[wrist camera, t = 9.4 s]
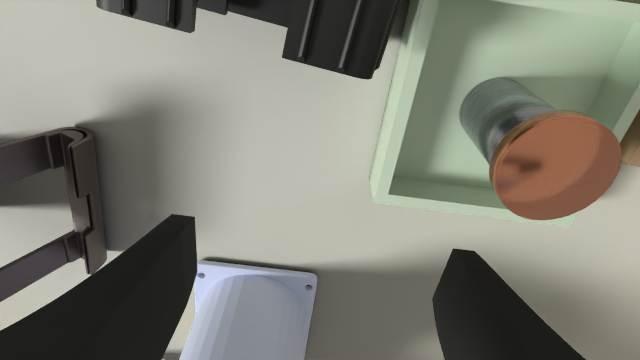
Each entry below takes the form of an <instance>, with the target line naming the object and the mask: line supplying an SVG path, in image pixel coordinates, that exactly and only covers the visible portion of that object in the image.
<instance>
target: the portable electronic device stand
mask: <svg viewBox="0 0 640 360" xmlns="http://www.w3.org/2000/svg"><path fill="white" fill-rule="evenodd" d="M62 166H64V169H65V175H66V181H67V187H68V193H69V199H70V205H71V211H72V217H73V223H74V230H73V231H71V232H69V233H67V234H65V235H63V236H61V237H59V238H57V239H55V240H53V241H52V242H50V243H48V244H46V245H44V246H42V247H40V248H38V249H36V250H34V251H32V252H30V253H28V254H26V255H24V256H22V257H20V258H19V259H17V260H15V261H13V262H11V263H9V264H7V265H5V266H3V267H1V268H0V302H1V301H3V300H5V299H6V298H8V297H10V296H11V295H13V294H15V293H17V292H18V291H20V290H22V289H23V288H25V287H27V286H29V285H30V284H32V283H34V282H35V281H37V280H39V279H41V278H42V277H44V276H46V275H48V274H49V273H51V272H53V271H54V270H56V269H58V268H60V267H61V266H63V265H65V264H66V263H68V262H73V261H75V260H77V259H79V258H83V259H84V260H85V266H86V272H87V274H91V275H93V274H94V273H95V272H96V271H97V270H98V269H99V268H100V267H101V266H102V265H103V264H104V263H105V261H106V260H107V251H106V242H105V234H104V225H103V216H102V207H101V198H100V190H99V181H98V172H97V163H96V154H95V146H94V137H93V133H92V132H91V131H90V130H88V129H85V128H80V127H64V128H59V129H55V130H52V131H48V132H44V133H41V134H37V135H34V136H30V137H26V138H23V139H19V140H15V141H12V142H8V143H5V144H1V145H0V186H2V185H5V184H8V183H11V182H13V181H16V180H19V179H22V178H25V177H27V176H30V175H33V174H36V173H39V172H41V171H44V170H47V169H50V168H52V169H55V168H58V167H62Z"/></svg>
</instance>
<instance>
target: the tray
mask: <svg viewBox="0 0 640 360" xmlns="http://www.w3.org/2000/svg"><path fill="white" fill-rule="evenodd" d="M498 77H504V78H509V79H512V80H515V81H516V82H518V83H519V84H521V85H522V86H524V87H525V88H527V89H528V90H529V91H531V92H532V93H534V94H535V95H537V96H538V97H540V98H541V99H542V100H544V101H545V102H547V103H548V104H550V105H551V106H552V107H554V108H555V109H557V110H570V111H576V112H580V113H583V114H586V115H588V116H590V117H591V118H593V119H594V120H596V121H597V122H599V123H601V124H602V125H604V126H605V127H607V128H608V129H609V130H611V131H612V132H613V133H614V135H615V136H616V138H617V139H618V142H619V143H620V142H621V140H622V138H623V136H624V135H625V133H626V131H627V130H628V128H629V126H630V125H631V123H632V121H633V120H634V118H635V116H636V114H637V113H638V111H639V109H640V4H636V3H629V2H622V1H616V0H410V2H409V7H408V11H407V16H406V20H405V24H404V29H403V33H402V37H401V42H400V46H399V50H398V55H397V59H396V64H395V68H394V72H393V77H392V81H391V85H390V90H389V94H388V99H387V103H386V107H385V112H384V116H383V120H382V125H381V129H380V133H379V138H378V142H377V147H376V151H375V155H374V160H373V164H372V168H371V173H370V177H369V179H370V185H371V191H372V197H373V202H374V203H378V204H386V205H394V206H402V207H410V208H418V209H426V210H434V211H442V212H450V213H458V214H466V215H474V216H482V217H490V218H498V219H506V220H514V221H522V222H530V223H538V224H546V225H554V226H562V227H570V226H571V225H572V223H573V221H574V220H575V218H576V216H577V215H578V213H579V211H578V212H576V213H574V214H571V215H569V216H566V217H562V218H558V219H553V220H531V219H526V218H523V217H520V216H518V215H516V214H514V213H512V212H511V211H510V210H508V209H507V208H506V207H505V206H504V204H503V203H502V201H501V200H500V198H499V197H498V195H497V194H496V192H495V191H494V189H493V188H492V185H491V183H490V179H489V164H488V162H487V161H486V160H485V158H484V157H483V156H482V154H481V153H480V151H479V150H478V149H477V147H476V146H475V145H474V143H473V142H472V141H471V139H470V138H469V136H468V135H467V134H466V132H465V131H464V129H463V128H462V126H461V123H460V119H459V112H460V107H461V104H462V102H463V100H464V98H465V97H466V95H467V94H468V93H469V92H470V91H471V90H472V89H473V88H474V87H475V86H477V85H478V84H479V83H481V82H483V81H486V80H488V79H492V78H498Z"/></svg>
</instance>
